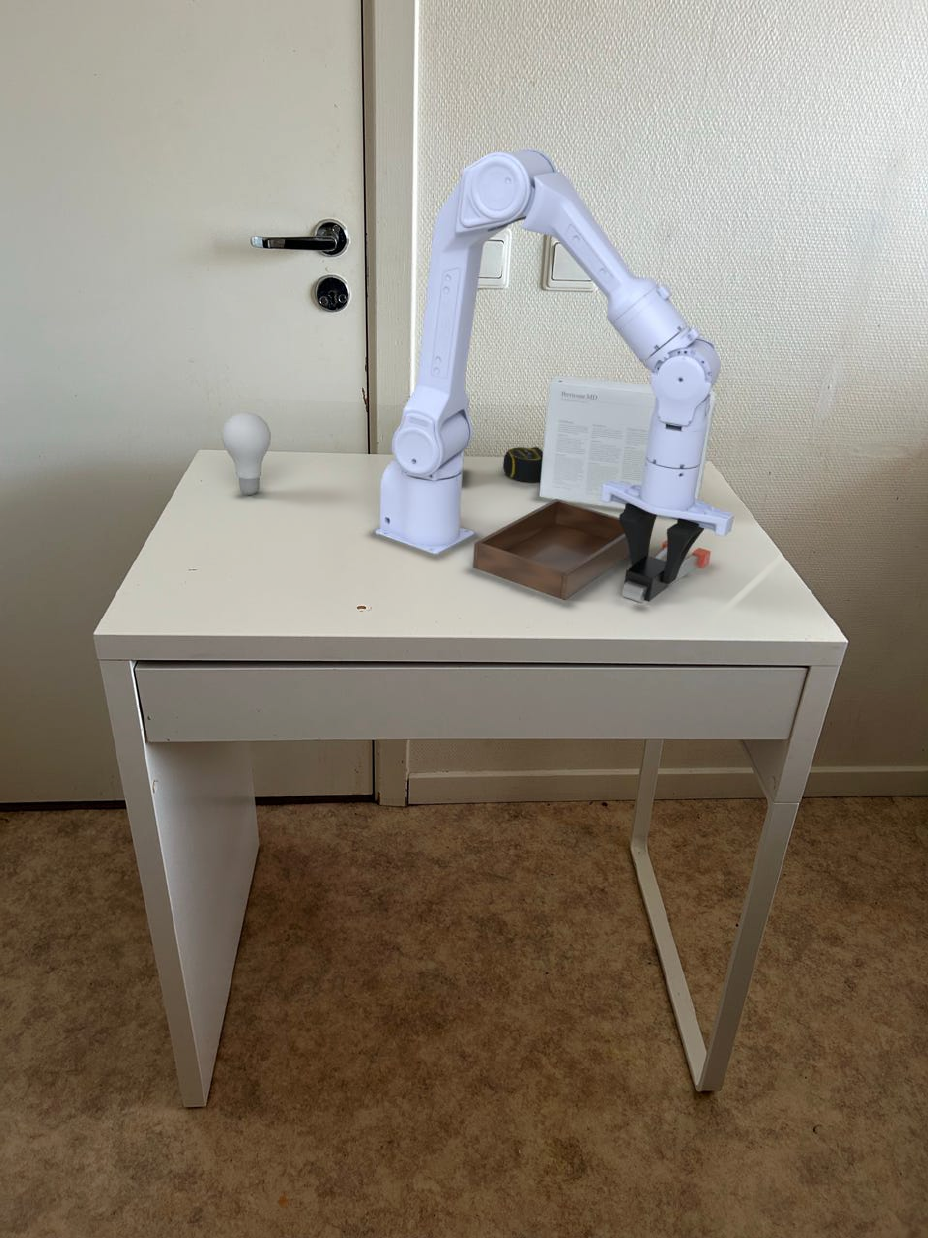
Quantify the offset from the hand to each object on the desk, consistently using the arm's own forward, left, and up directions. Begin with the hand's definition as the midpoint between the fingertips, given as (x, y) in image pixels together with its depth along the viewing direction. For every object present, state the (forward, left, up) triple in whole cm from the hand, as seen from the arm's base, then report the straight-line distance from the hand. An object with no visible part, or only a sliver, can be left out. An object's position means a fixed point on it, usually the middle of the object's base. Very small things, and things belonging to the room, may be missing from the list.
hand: (654, 575), depth 106 cm
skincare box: (-15, +20, -2) cm, 25 cm away
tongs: (0, +2, -1) cm, 2 cm away
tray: (-12, -1, -2) cm, 12 cm away
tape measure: (-29, +20, -2) cm, 35 cm away
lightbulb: (-53, -11, -2) cm, 54 cm away
